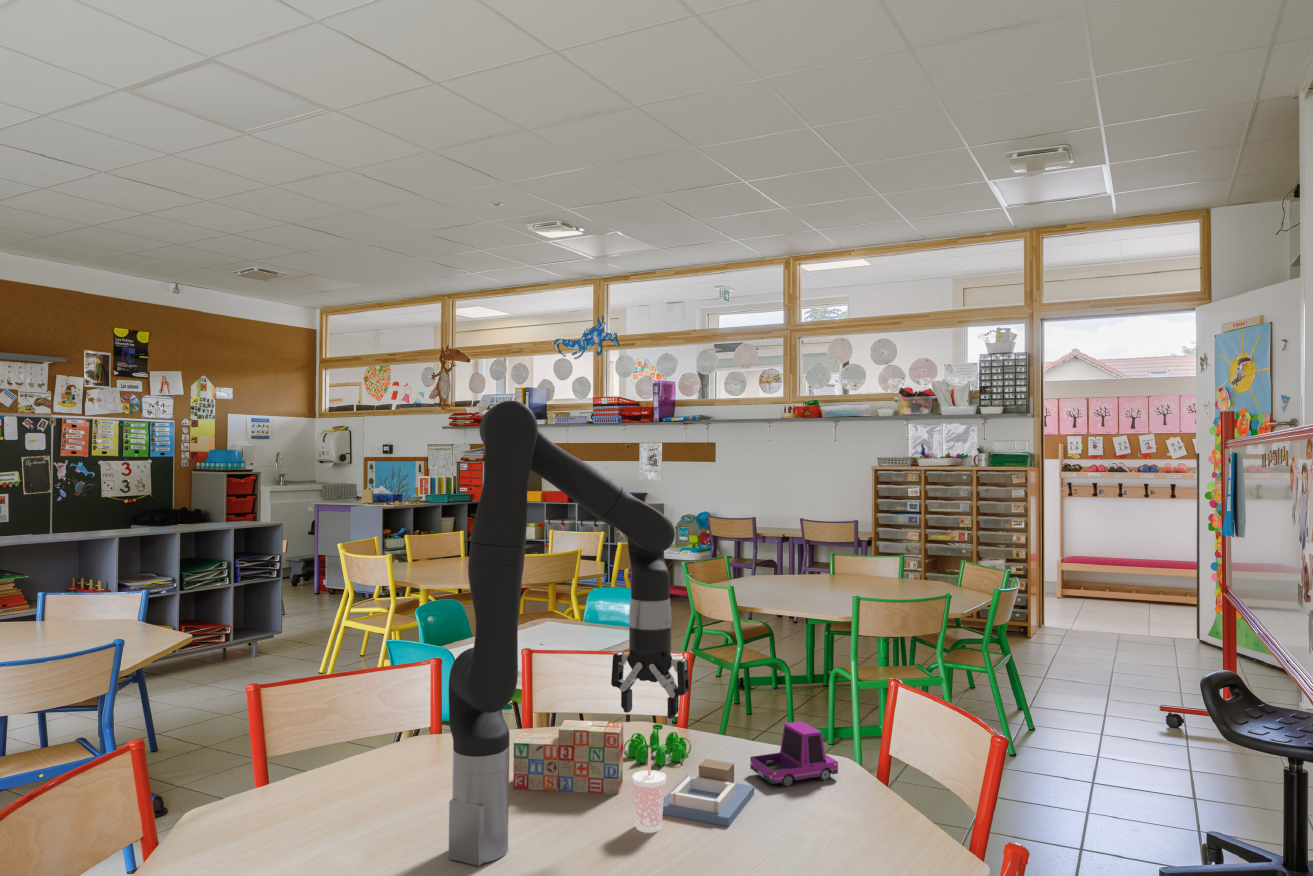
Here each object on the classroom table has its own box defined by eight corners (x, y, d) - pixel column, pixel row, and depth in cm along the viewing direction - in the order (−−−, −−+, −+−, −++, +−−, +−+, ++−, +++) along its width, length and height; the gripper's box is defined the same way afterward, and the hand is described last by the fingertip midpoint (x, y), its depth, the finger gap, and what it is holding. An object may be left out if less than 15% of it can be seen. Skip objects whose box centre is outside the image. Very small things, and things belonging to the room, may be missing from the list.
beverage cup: (650, 838, 145) (651, 756, 145) (624, 827, 149) (625, 748, 149) (673, 826, 150) (673, 747, 150) (647, 816, 154) (648, 739, 154)
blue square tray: (728, 826, 150) (729, 795, 150) (656, 813, 155) (657, 783, 155) (754, 794, 164) (754, 765, 165) (687, 782, 170) (687, 755, 170)
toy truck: (840, 781, 172) (840, 732, 172) (774, 792, 166) (774, 741, 166) (811, 763, 182) (811, 717, 182) (748, 773, 176) (748, 725, 176)
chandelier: (609, 759, 184) (609, 727, 184) (651, 741, 196) (651, 711, 196) (663, 775, 175) (664, 742, 175) (704, 755, 186) (704, 724, 187)
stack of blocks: (512, 790, 166) (513, 727, 166) (520, 777, 172) (521, 717, 172) (619, 795, 164) (619, 731, 164) (623, 782, 170) (624, 721, 170)
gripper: (605, 624, 150) (604, 715, 149) (679, 631, 144) (679, 725, 144) (623, 616, 157) (622, 704, 156) (694, 623, 151) (694, 713, 151)
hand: (649, 714), depth 150 cm, fingers open, 8 cm apart
